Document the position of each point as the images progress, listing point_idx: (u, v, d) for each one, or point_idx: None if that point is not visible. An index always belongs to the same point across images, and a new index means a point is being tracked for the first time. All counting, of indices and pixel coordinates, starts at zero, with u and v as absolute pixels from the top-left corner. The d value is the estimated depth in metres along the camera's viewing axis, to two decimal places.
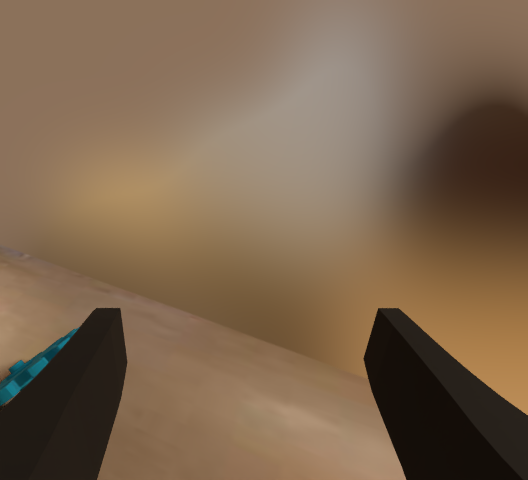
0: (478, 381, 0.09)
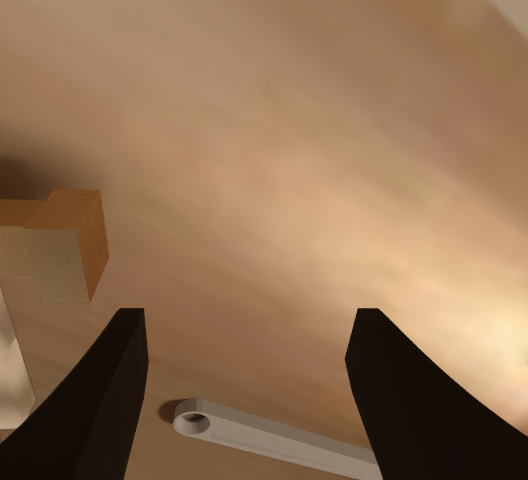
0: (452, 382, 0.09)
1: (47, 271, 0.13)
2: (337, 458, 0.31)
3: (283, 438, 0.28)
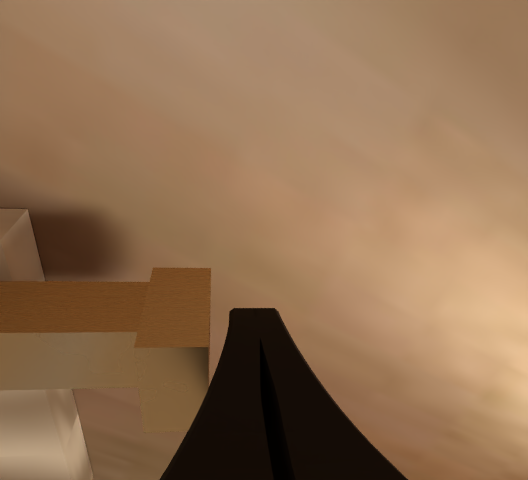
0: (316, 385, 0.08)
1: (159, 396, 0.10)
2: None
3: None
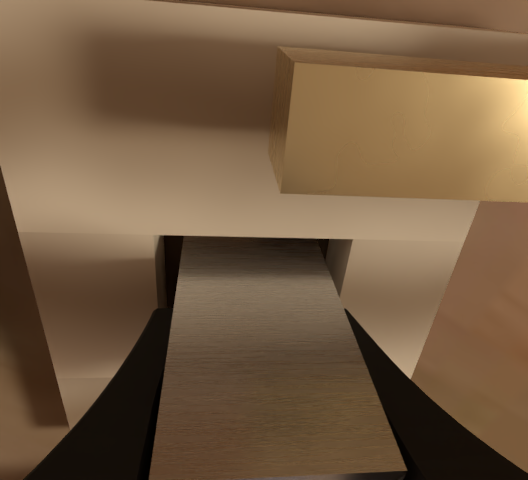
0: (410, 383, 0.09)
1: None
2: None
3: None
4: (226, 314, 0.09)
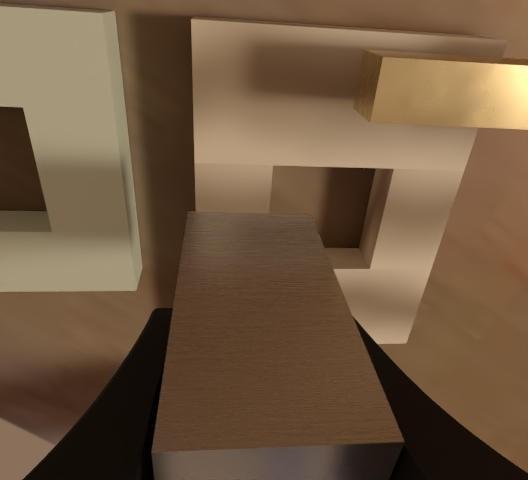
0: (410, 383, 0.09)
1: None
2: None
3: None
4: (227, 297, 0.09)
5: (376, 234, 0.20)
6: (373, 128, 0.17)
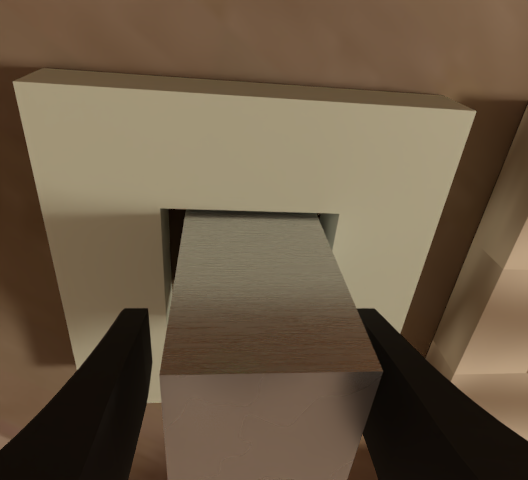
0: (447, 382, 0.09)
1: None
2: None
3: None
4: (226, 257, 0.10)
5: None
6: None
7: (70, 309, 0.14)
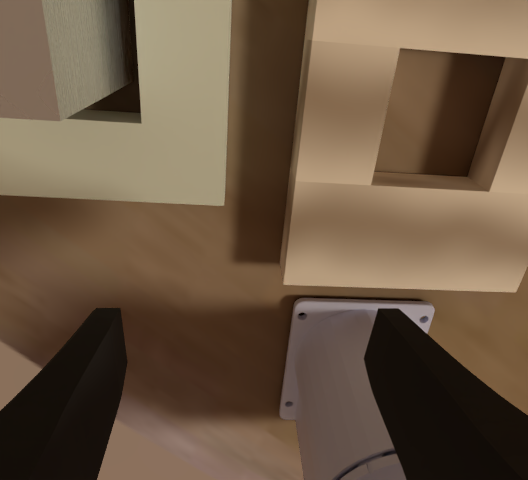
0: (478, 381, 0.09)
1: None
2: None
3: None
4: None
5: (501, 147, 0.17)
6: (520, 4, 0.15)
7: None
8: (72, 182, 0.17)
